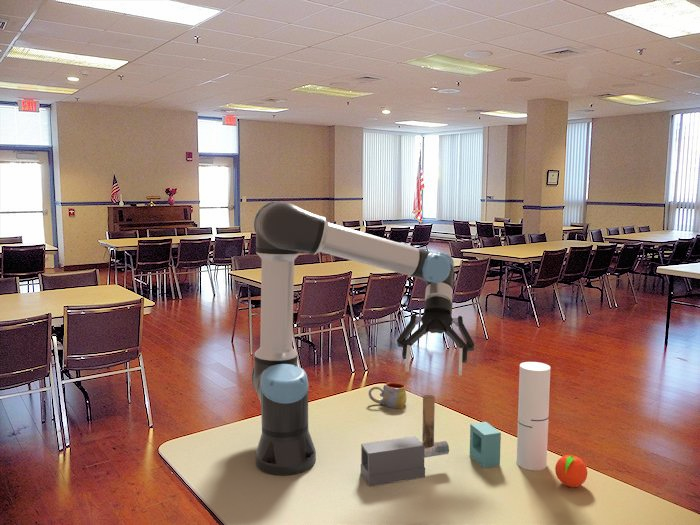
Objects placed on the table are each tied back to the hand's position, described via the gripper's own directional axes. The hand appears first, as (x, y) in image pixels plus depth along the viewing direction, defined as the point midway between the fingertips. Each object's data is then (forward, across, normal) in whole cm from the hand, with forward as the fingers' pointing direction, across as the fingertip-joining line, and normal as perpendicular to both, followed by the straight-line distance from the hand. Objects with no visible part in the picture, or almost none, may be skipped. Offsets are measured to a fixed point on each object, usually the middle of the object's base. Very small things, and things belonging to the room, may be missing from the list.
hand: (433, 371), depth 148 cm
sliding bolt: (+22, +4, -4) cm, 22 cm away
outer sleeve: (+26, +8, -4) cm, 27 cm away
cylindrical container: (+17, -25, -14) cm, 33 cm away
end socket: (+17, -13, -13) cm, 25 cm away
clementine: (+23, -32, -7) cm, 41 cm away
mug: (-6, +17, -36) cm, 40 cm away
